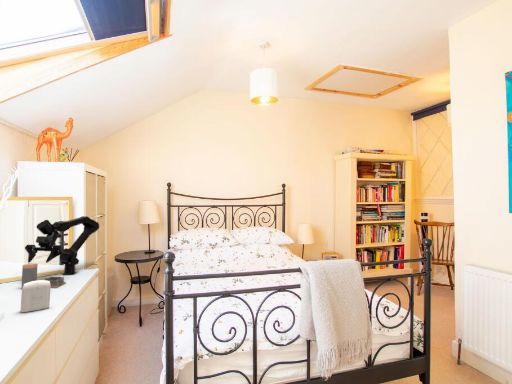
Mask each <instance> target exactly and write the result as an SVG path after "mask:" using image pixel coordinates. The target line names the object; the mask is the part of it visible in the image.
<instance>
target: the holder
mask: <svg viewBox="0 0 512 384" xmlns="http://www.w3.org/2000/svg"><path fill="white" fill-rule="evenodd" d="M43 280H47V281H50V285H51V289H57V288H58V289H59V288H60V287H62V286H64V285H66V283H67V281H65V277H64V276H49V277H46V278H44V279H43Z"/></svg>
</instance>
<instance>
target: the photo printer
mask: <svg viewBox="0 0 512 384" xmlns="http://www.w3.org/2000/svg"><path fill="white" fill-rule="evenodd" d="M21 287H22V286H21ZM51 289H52V288H51V285H50V281H47V280H44V279H37V281H31V282H28V283H25V284H23V287H22V290H21V295H20V297H21V298H20V299H21V300H20V311H19V312H21V313H27V312H28V313H29V312H33V311H39V310H44V309H45V310H46V309H49V308H50V303H51Z"/></svg>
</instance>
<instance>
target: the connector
mask: <svg viewBox="0 0 512 384" xmlns="http://www.w3.org/2000/svg"><path fill="white" fill-rule="evenodd" d="M38 264H39V263H35V262H34V263H31V262H30V263H29V262H28V263H25V264H22V269H21V270H22V271H21V272H22V273H21V289H22V287H23V284H25V283H28V282H31V281H37V280H38Z"/></svg>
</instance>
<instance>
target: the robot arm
mask: <svg viewBox="0 0 512 384" xmlns="http://www.w3.org/2000/svg"><path fill="white" fill-rule="evenodd" d="M79 225H82V226H83V231H82V233H80V235H79V236H78V237H77V238H76V240H75V241H74V242H73V243H72V245H71V246H70V247H69V248H63V246H62V245H61V244H60V245H59V244H56V241H57V240H58V239H60V238H63V237H62V236H63V235H61V232H66V231H68V230H70V229H71V228H72V227H75V226H79ZM35 228H36V229H37V230H38V232H40V233H41V234H42V235H44V236H42V235H41V236H36V240H35V243H37V245H38V246H36V245H35V244H26V245H25V246H24V249H25V252H27V254H28V259H27V260H28V261H27V262H28V263H31V262H32V260H33V259H34V258H35V257H36V256H37V254H38V252H50V253H49V254H48V256H47V258H46V260H45V262H46V263H49V262H51V261H52V260H53V259H55V258H57V257H59V261H60V262H61V265H64V270H63V273H62V274H61V275H62V276H65V275H66V276H67V275H69V276H70V275H72V276H73V275H75V274H77V271H76V265H78V264H79V262H80V259H78V252H79V251H80V249H81V248H82V246H83V245H84V244H85V242H86V241H87V240H88V238H89V237H90V236H92V234H95V233H96V232H98V230H99V229H100V223H99V222H98V221H96V220H94V219H92V218H90V217H89V216H84V215H83V216H80V217H76V218H72V219H70V220H64V221H55V222H53V223H51V222H50V220H48V219H44V220H42V221H41V222H39V223H37V225H36V227H35Z"/></svg>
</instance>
